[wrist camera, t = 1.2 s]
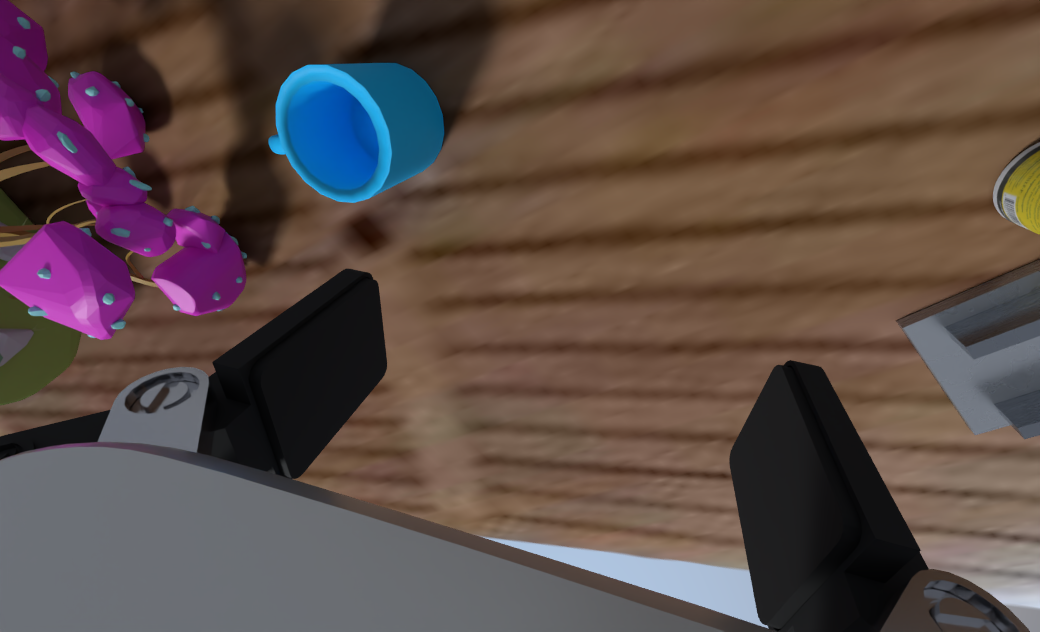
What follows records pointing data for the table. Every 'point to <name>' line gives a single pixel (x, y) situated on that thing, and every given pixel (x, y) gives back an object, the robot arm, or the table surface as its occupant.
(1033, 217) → the supplement bottle
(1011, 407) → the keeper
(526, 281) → the table surface
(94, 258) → the tree
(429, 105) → the mug
